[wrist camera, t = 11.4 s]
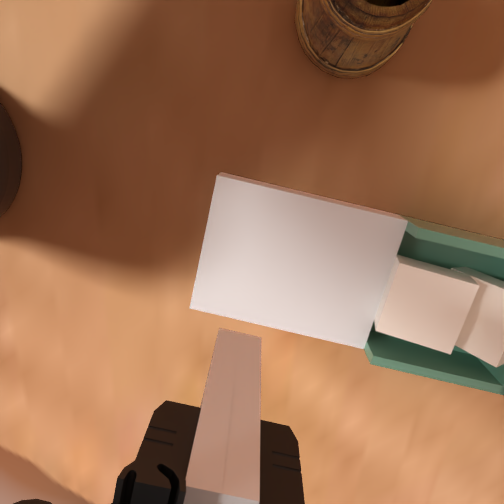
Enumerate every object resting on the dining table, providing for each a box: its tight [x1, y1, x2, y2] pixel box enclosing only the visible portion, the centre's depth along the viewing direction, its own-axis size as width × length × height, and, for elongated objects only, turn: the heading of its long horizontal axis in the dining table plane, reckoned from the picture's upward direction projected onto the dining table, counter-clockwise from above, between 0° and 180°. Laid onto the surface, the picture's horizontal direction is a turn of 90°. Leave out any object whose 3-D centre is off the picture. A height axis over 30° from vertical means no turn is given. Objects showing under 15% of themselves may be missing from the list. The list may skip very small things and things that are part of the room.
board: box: [190, 172, 408, 349], centre depth 37 cm, size 16×12×3 cm
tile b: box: [451, 267, 504, 368], centre depth 35 cm, size 6×6×3 cm
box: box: [364, 214, 504, 395], centre depth 36 cm, size 12×12×6 cm
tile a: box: [374, 255, 479, 354], centre depth 34 cm, size 6×6×3 cm
